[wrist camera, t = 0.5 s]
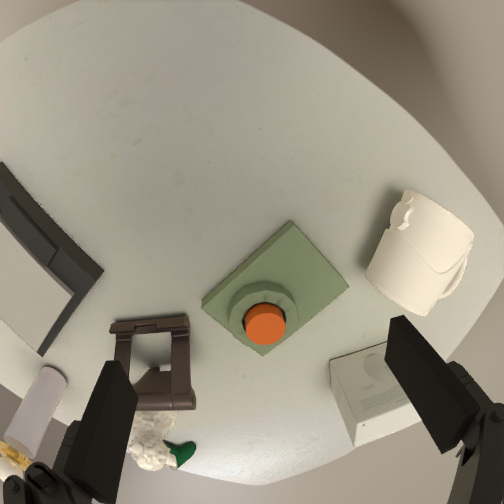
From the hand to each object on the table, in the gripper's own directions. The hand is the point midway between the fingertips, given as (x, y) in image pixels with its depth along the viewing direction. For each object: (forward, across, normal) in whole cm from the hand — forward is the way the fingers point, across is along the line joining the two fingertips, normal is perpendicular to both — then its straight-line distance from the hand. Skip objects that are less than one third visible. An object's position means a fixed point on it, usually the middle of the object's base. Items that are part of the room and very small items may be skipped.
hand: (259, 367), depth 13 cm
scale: (+17, -26, +2) cm, 31 cm away
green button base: (+16, +3, -5) cm, 18 cm away
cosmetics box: (+17, +14, -19) cm, 29 cm away
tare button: (+13, +1, -6) cm, 15 cm away
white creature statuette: (+17, -14, -19) cm, 29 cm away
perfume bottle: (+17, -30, -15) cm, 37 cm away
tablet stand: (+17, -11, -10) cm, 22 cm away
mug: (+17, +18, -3) cm, 25 cm away
